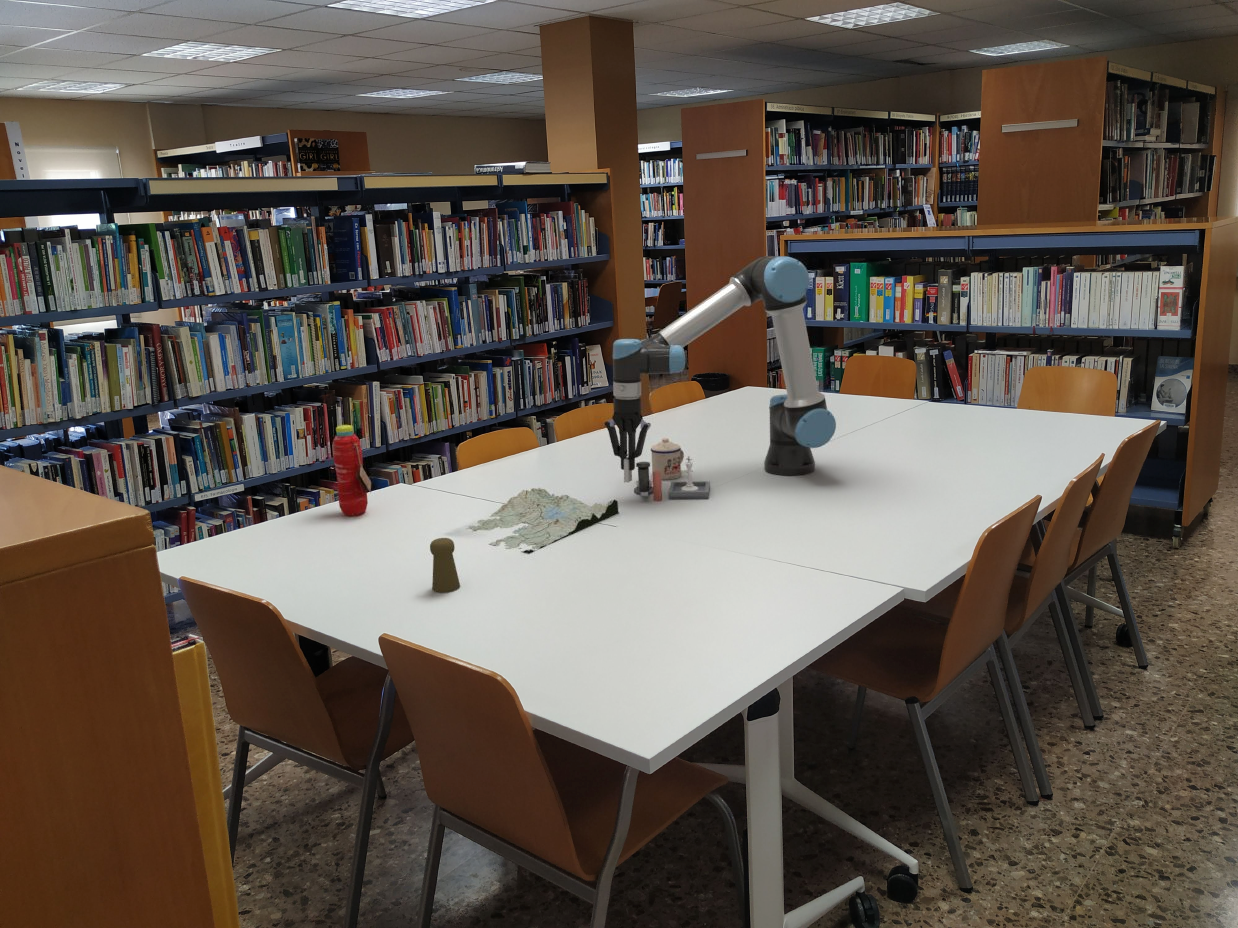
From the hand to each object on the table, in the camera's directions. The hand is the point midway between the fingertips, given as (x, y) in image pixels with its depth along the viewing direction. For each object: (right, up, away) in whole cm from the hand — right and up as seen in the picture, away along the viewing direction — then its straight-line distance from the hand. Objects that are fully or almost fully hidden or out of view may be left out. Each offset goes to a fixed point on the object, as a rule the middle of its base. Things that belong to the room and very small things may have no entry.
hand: (628, 481), depth 257 cm
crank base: (+5, -3, +9) cm, 11 cm away
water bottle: (-75, -9, +1) cm, 76 cm away
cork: (-40, -22, -55) cm, 72 cm away
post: (+8, -5, +1) cm, 10 cm away
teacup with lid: (+13, +1, +25) cm, 29 cm away
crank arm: (+5, -3, +4) cm, 7 cm away
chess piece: (+17, -3, +5) cm, 18 cm away
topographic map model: (-25, -12, -14) cm, 31 cm away
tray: (+17, -4, +5) cm, 19 cm away
